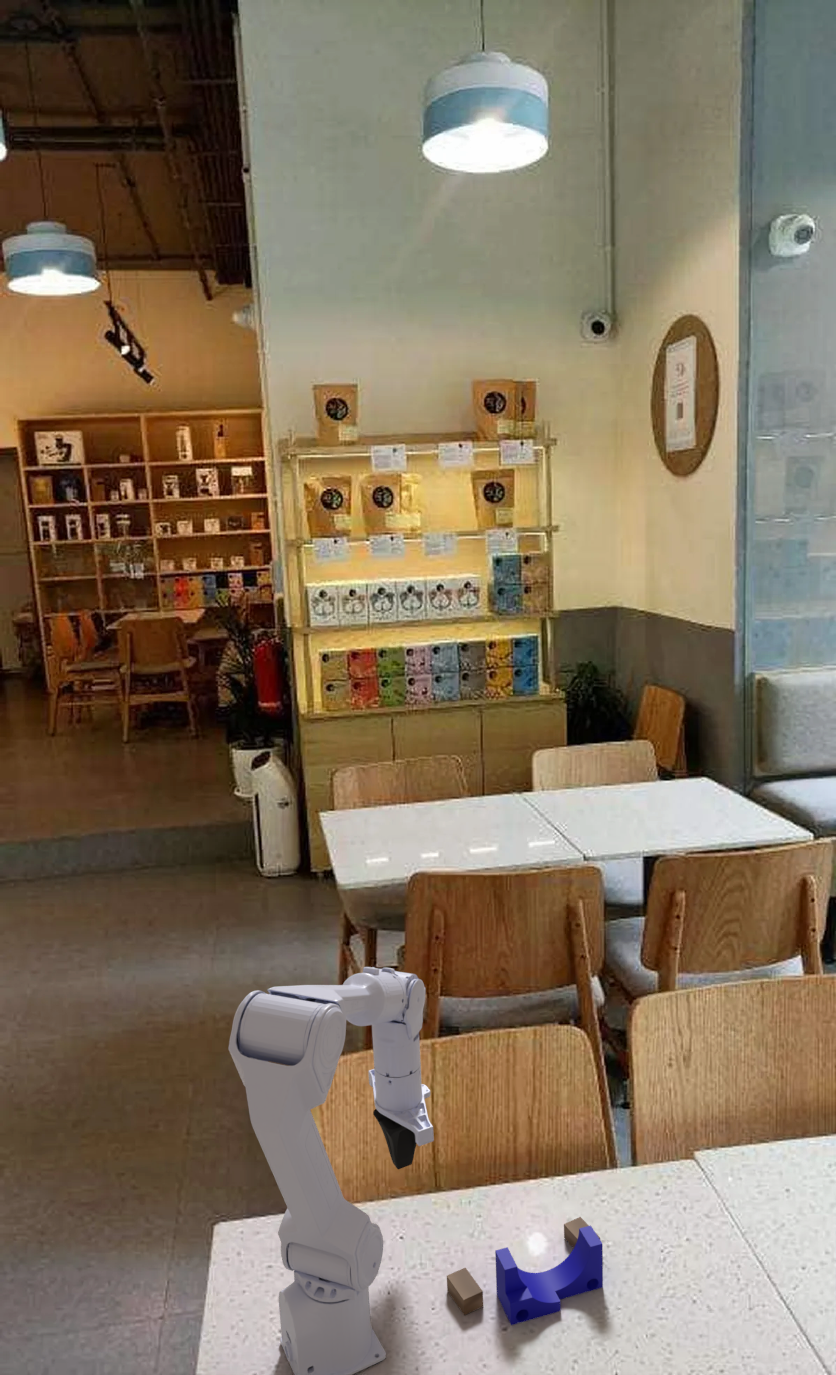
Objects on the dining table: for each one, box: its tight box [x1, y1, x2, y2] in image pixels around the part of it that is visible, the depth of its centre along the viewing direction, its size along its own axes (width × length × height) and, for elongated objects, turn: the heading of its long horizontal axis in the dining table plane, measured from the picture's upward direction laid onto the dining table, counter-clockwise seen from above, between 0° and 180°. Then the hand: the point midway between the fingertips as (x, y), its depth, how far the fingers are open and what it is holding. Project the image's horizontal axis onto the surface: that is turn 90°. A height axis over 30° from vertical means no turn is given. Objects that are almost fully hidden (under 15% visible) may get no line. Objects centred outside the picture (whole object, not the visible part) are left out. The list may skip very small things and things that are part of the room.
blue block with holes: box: [494, 1225, 604, 1326], centre depth 109 cm, size 12×4×6 cm, turn 106°
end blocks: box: [446, 1216, 601, 1316], centre depth 113 cm, size 19×4×2 cm, turn 117°
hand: (402, 1163), depth 119 cm, fingers closed
